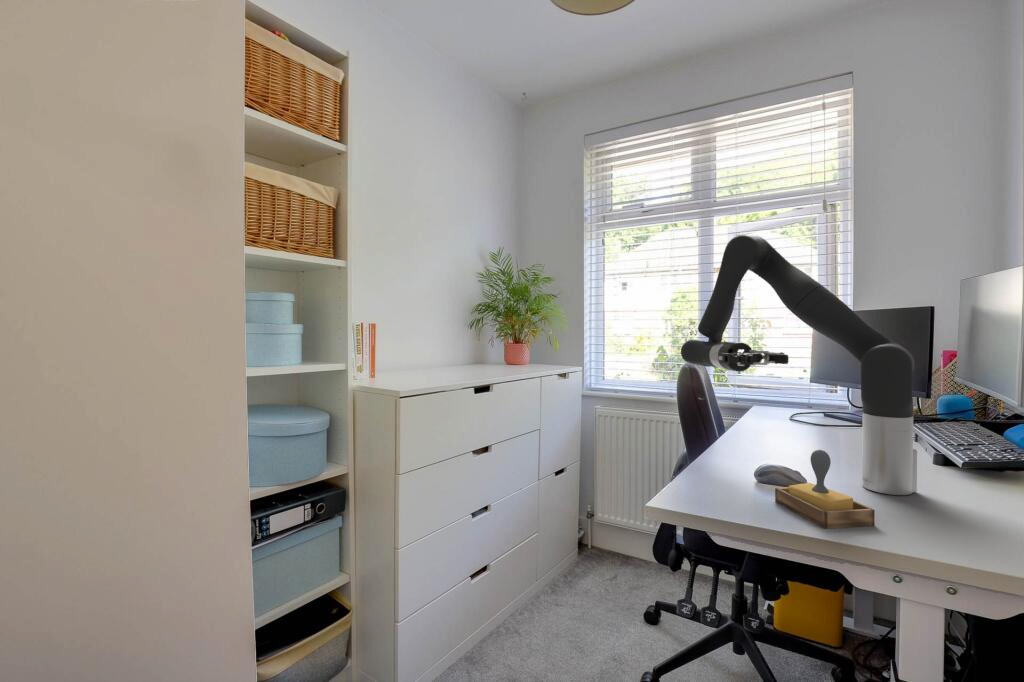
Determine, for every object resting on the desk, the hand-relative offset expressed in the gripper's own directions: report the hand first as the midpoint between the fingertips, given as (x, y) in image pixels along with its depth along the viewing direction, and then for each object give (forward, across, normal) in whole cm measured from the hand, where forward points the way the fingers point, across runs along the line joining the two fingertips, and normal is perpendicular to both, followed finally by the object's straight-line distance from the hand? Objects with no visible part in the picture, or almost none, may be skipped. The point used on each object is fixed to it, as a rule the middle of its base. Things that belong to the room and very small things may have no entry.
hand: (769, 359), depth 113 cm
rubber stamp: (+15, +1, +29) cm, 33 cm away
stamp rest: (+15, +1, +30) cm, 34 cm away
